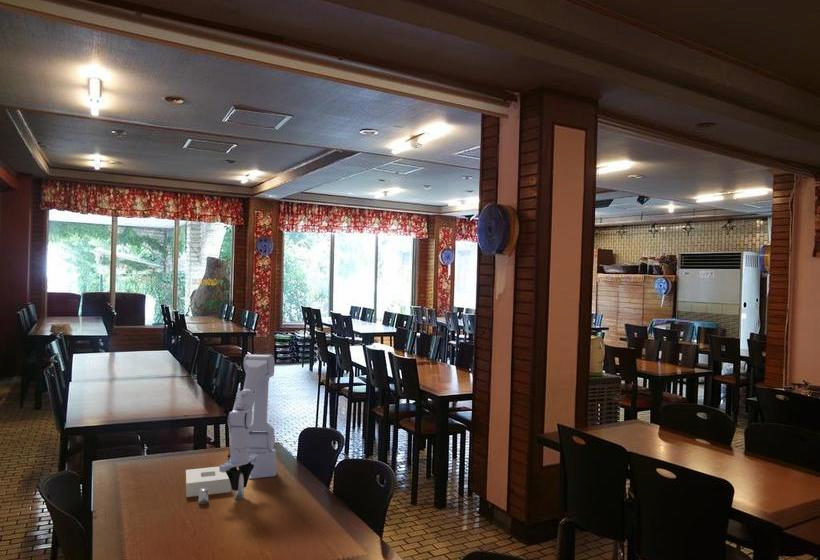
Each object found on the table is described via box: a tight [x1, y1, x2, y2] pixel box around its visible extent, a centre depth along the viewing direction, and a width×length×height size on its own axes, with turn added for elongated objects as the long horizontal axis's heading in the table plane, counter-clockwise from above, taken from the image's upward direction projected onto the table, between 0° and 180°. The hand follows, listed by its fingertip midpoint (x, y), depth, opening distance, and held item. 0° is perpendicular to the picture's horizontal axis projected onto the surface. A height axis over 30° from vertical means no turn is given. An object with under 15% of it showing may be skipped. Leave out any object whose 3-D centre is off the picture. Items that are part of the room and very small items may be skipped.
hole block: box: [185, 465, 232, 498], centre depth 199 cm, size 14×14×4 cm
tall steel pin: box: [233, 472, 245, 500], centre depth 191 cm, size 3×3×8 cm
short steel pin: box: [197, 488, 209, 505], centre depth 187 cm, size 3×3×4 cm
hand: (239, 488), depth 191 cm, fingers closed on tall steel pin, 3 cm apart
